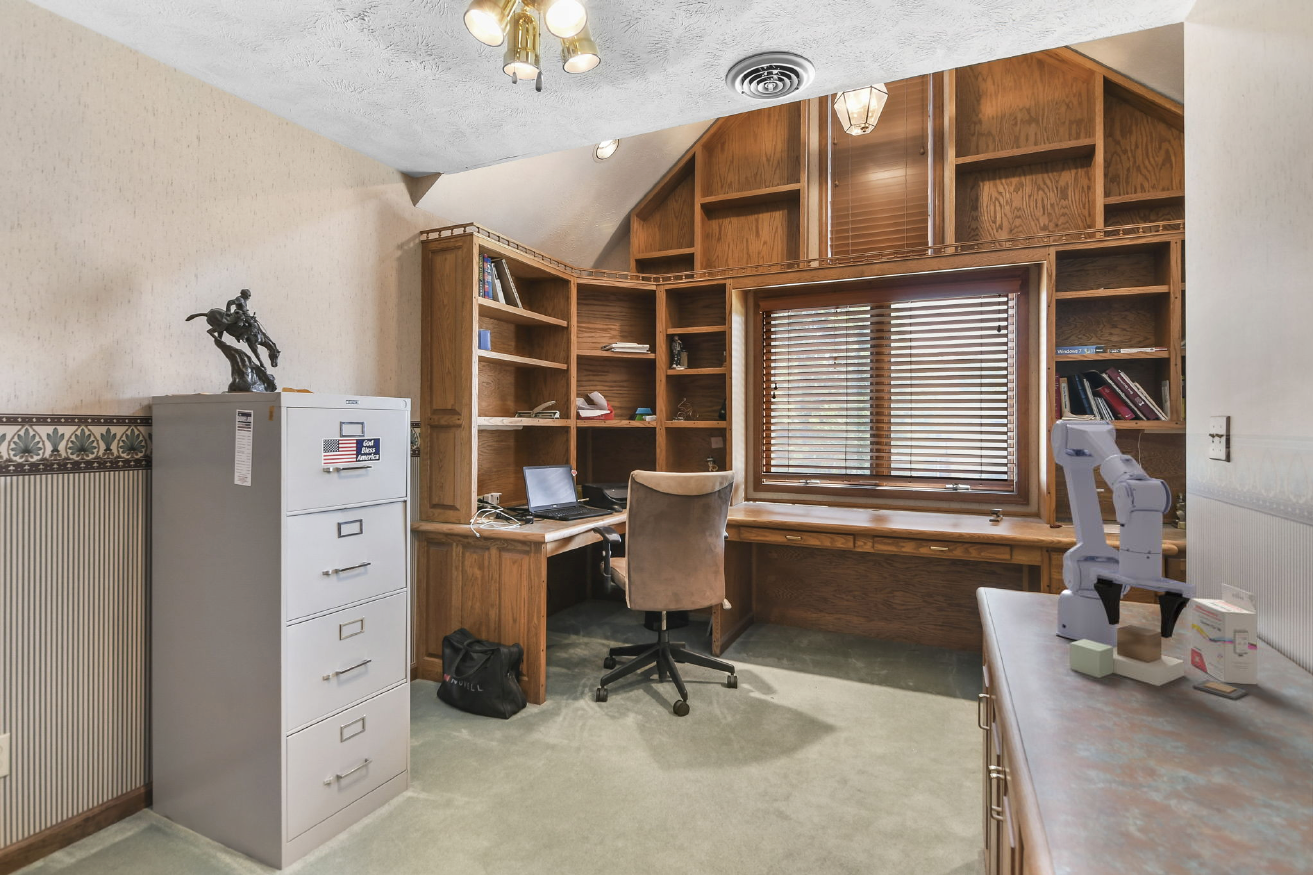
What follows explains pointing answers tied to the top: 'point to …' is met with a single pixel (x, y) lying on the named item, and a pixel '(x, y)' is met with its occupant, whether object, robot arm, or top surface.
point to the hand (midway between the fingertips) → (1139, 630)
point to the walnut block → (1139, 643)
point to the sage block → (1091, 658)
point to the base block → (1148, 669)
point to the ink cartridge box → (1226, 636)
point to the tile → (1220, 689)
